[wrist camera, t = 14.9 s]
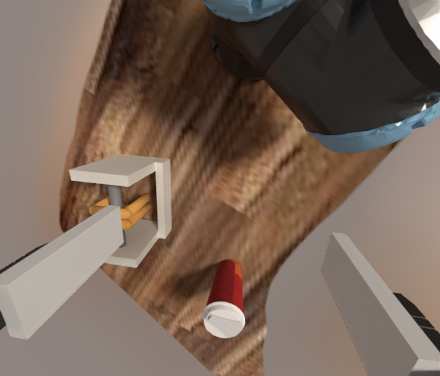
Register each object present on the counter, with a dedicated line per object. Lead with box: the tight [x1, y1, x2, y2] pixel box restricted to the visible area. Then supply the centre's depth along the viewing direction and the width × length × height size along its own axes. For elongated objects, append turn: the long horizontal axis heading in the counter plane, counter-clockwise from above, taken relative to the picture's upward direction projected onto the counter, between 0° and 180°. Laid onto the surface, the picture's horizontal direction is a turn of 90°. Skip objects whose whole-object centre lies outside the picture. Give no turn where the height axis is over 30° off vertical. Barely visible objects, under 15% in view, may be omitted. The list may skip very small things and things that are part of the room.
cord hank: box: [89, 191, 151, 230], centre depth 41 cm, size 8×4×9 cm, turn 86°
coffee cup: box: [203, 260, 245, 338], centre depth 46 cm, size 8×8×15 cm
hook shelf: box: [69, 154, 171, 268], centre depth 42 cm, size 18×12×14 cm, turn 176°
